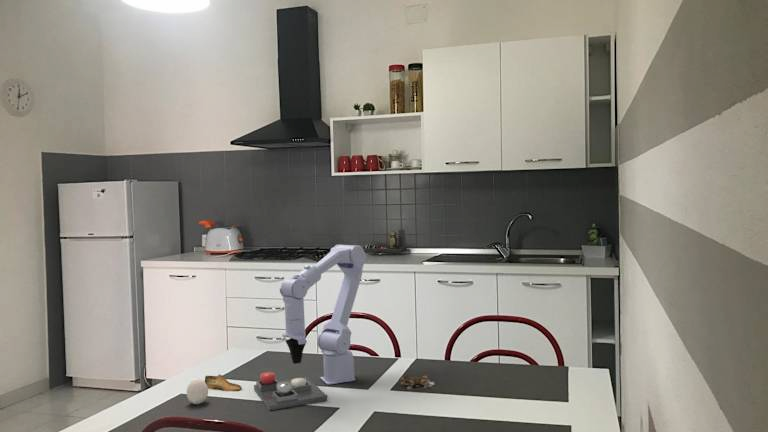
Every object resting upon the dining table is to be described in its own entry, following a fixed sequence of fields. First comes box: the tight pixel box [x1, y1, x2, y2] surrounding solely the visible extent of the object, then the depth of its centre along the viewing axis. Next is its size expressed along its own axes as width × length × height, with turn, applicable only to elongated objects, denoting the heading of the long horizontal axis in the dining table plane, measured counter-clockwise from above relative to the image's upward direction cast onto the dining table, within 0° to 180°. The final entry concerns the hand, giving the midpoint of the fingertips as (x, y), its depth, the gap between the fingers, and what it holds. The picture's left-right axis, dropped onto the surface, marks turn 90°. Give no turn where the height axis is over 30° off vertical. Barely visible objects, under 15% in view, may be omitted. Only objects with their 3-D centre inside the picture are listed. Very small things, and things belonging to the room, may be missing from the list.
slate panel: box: [253, 376, 328, 411], centre depth 197 cm, size 17×21×3 cm
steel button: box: [277, 382, 292, 395], centre depth 189 cm, size 4×4×2 cm
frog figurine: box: [399, 374, 436, 390], centre depth 202 cm, size 12×12×4 cm
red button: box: [259, 371, 276, 384], centre depth 200 cm, size 4×4×2 cm
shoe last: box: [204, 374, 242, 392], centre depth 206 cm, size 4×14×5 cm, turn 65°
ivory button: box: [291, 377, 306, 387], centre depth 198 cm, size 4×4×2 cm
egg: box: [186, 377, 209, 405], centre depth 192 cm, size 6×6×8 cm
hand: (296, 362), depth 197 cm, fingers closed
